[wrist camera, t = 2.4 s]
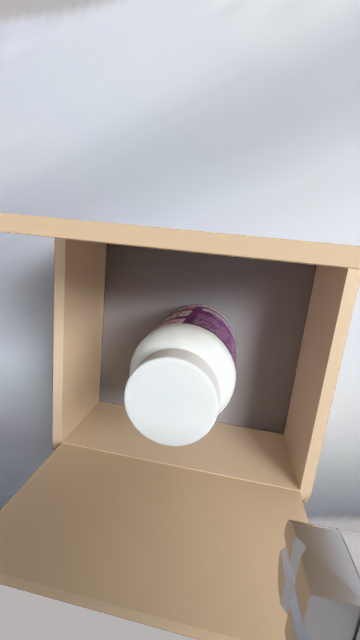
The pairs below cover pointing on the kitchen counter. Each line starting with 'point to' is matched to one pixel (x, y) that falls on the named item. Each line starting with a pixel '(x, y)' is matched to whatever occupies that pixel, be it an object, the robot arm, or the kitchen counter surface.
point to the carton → (169, 458)
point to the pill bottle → (182, 376)
